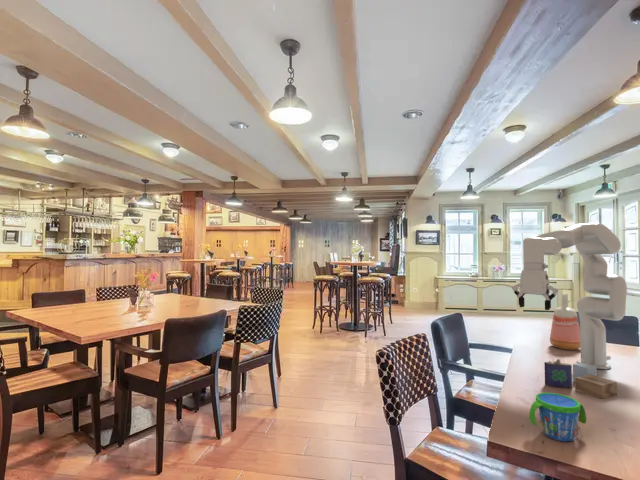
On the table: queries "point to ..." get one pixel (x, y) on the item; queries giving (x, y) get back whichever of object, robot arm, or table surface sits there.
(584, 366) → the pale blue cube
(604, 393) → the block
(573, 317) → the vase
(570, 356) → the table surface
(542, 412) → the snack cup
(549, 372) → the clover trinket box
